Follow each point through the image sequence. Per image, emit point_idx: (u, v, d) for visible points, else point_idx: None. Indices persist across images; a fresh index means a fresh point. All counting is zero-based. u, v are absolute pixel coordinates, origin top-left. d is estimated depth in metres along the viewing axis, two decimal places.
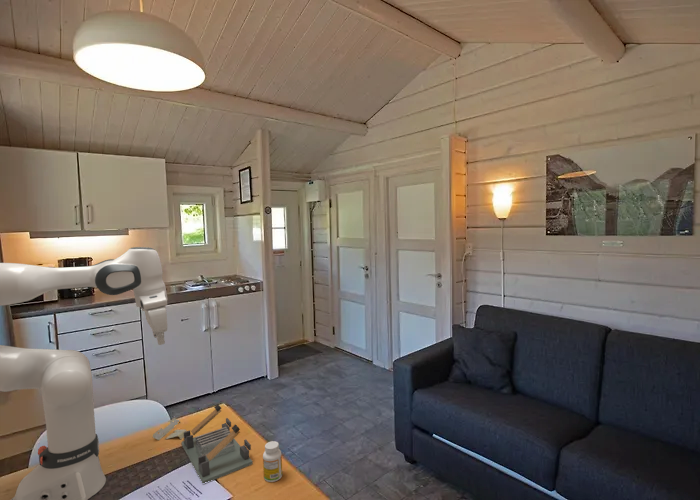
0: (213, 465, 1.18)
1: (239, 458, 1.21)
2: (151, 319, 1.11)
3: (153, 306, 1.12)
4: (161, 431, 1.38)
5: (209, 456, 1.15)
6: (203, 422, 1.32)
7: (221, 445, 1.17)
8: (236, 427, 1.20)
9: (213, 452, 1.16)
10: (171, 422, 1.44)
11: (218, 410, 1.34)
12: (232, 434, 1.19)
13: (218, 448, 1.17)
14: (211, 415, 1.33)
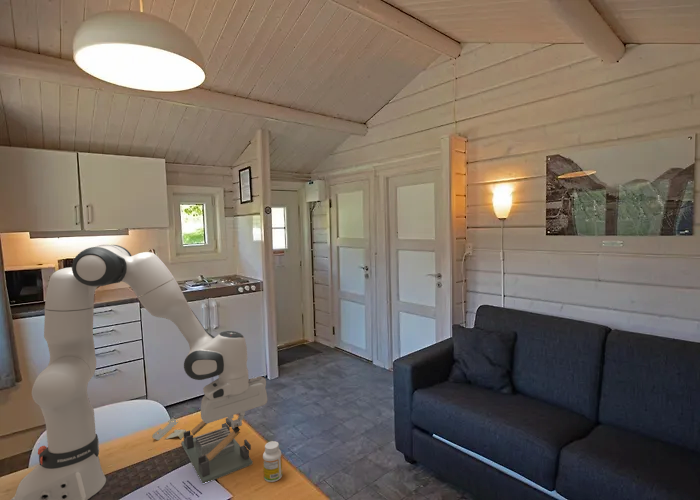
0: (213, 465, 1.18)
1: (239, 458, 1.21)
2: (201, 405, 1.16)
3: None
4: (160, 431, 1.38)
5: (209, 456, 1.15)
6: (203, 422, 1.32)
7: (221, 445, 1.17)
8: (236, 427, 1.20)
9: (213, 452, 1.16)
10: (170, 422, 1.44)
11: None
12: (232, 434, 1.19)
13: (218, 448, 1.17)
14: None
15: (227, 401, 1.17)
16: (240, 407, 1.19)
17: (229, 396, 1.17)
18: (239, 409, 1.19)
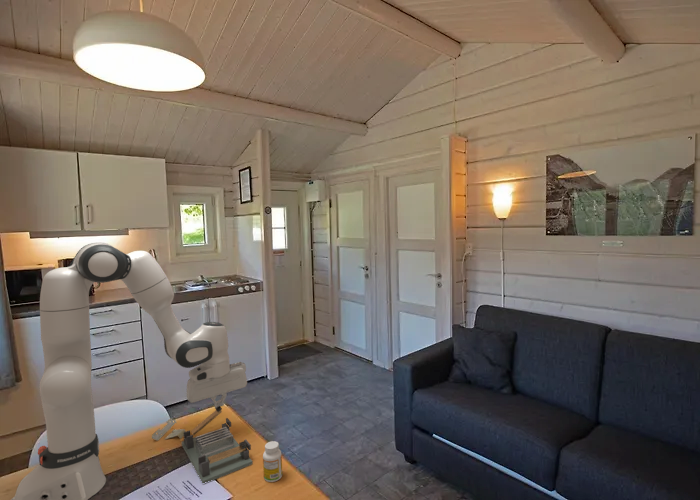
0: (213, 465, 1.18)
1: (239, 458, 1.21)
2: None
3: (190, 377, 1.30)
4: (159, 431, 1.38)
5: (211, 459, 1.16)
6: (203, 422, 1.32)
7: (225, 454, 1.18)
8: (244, 444, 1.22)
9: (216, 457, 1.17)
10: (168, 422, 1.43)
11: (219, 411, 1.34)
12: (238, 449, 1.21)
13: (221, 455, 1.17)
14: (212, 416, 1.33)
15: (210, 383, 1.31)
16: (222, 389, 1.34)
17: (212, 379, 1.31)
18: (221, 391, 1.34)
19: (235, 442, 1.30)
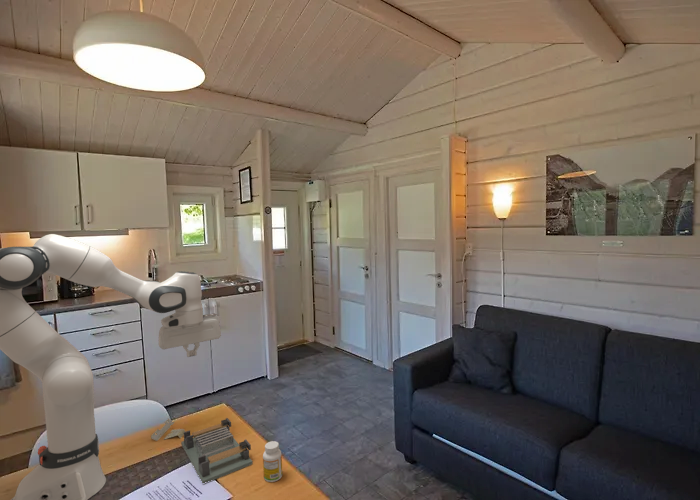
0: (213, 465, 1.18)
1: (239, 458, 1.21)
2: (159, 334, 1.30)
3: (162, 324, 1.30)
4: (158, 431, 1.38)
5: (211, 459, 1.16)
6: (206, 430, 1.33)
7: (225, 454, 1.18)
8: (244, 444, 1.22)
9: (216, 457, 1.17)
10: (166, 423, 1.43)
11: (224, 425, 1.35)
12: (238, 449, 1.21)
13: (221, 455, 1.17)
14: (216, 427, 1.34)
15: (182, 331, 1.32)
16: (194, 338, 1.34)
17: (184, 327, 1.31)
18: (194, 340, 1.34)
19: (235, 442, 1.30)
